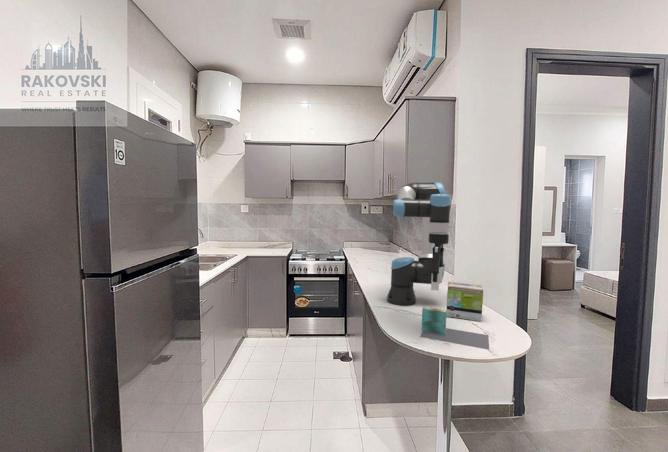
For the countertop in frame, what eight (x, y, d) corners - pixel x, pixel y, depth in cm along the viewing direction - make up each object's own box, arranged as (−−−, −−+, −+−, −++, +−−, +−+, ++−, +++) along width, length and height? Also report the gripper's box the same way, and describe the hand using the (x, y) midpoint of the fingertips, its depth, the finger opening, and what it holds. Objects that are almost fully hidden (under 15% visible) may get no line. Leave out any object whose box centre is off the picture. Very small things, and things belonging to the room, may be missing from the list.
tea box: (446, 317, 146) (447, 285, 145) (446, 310, 156) (447, 281, 155) (482, 322, 141) (483, 289, 140) (480, 314, 150) (481, 284, 149)
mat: (419, 338, 122) (420, 336, 122) (425, 325, 135) (425, 324, 135) (489, 351, 112) (489, 349, 112) (488, 336, 125) (488, 335, 125)
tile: (421, 330, 128) (422, 308, 128) (422, 328, 131) (423, 306, 130) (444, 334, 125) (445, 312, 124) (445, 332, 127) (446, 310, 127)
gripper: (446, 236, 113) (443, 295, 114) (451, 231, 136) (449, 280, 137) (424, 235, 116) (422, 292, 117) (432, 230, 139) (431, 278, 140)
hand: (436, 286), depth 127 cm, fingers open, 13 cm apart
